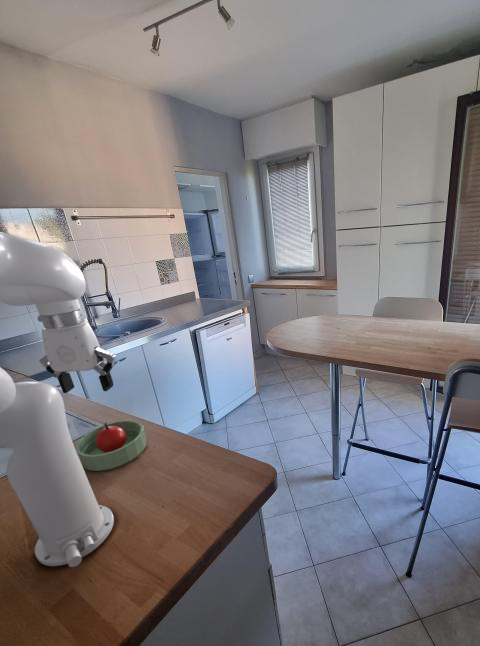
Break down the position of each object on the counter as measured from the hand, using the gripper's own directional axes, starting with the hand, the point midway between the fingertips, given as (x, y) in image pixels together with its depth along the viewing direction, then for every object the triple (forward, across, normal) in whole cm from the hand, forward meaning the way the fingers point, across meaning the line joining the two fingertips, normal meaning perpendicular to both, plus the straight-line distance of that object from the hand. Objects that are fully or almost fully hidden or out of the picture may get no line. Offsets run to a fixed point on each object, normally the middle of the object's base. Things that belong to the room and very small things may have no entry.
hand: (89, 389), depth 79 cm
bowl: (+18, +2, -1) cm, 18 cm away
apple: (+17, +2, -1) cm, 17 cm away
